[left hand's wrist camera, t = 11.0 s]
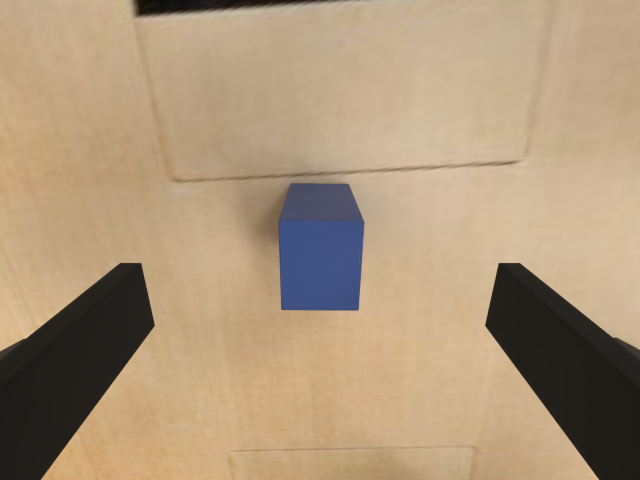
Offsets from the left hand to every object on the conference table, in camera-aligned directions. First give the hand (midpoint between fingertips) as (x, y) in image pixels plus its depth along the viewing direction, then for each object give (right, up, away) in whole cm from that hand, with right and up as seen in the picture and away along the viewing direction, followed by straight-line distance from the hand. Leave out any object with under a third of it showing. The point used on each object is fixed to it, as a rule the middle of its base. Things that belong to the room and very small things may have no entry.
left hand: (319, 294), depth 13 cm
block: (0, +4, +20) cm, 20 cm away
